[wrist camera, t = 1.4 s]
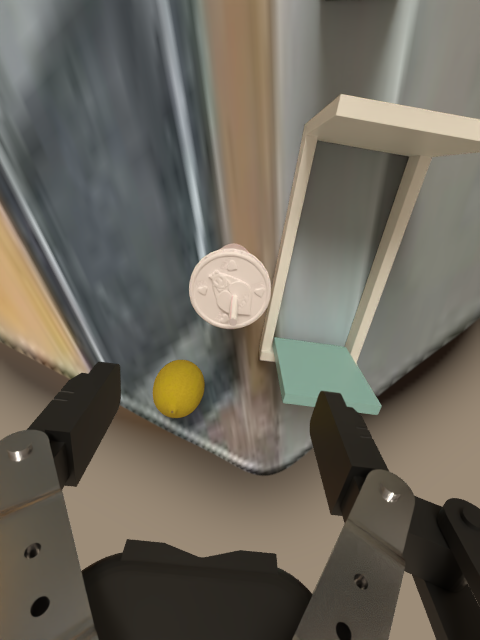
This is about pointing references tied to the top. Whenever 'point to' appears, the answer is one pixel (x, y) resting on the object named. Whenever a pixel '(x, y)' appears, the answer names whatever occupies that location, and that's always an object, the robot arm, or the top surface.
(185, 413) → the lemon
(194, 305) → the smoothie
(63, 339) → the top surface
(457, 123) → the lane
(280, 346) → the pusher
